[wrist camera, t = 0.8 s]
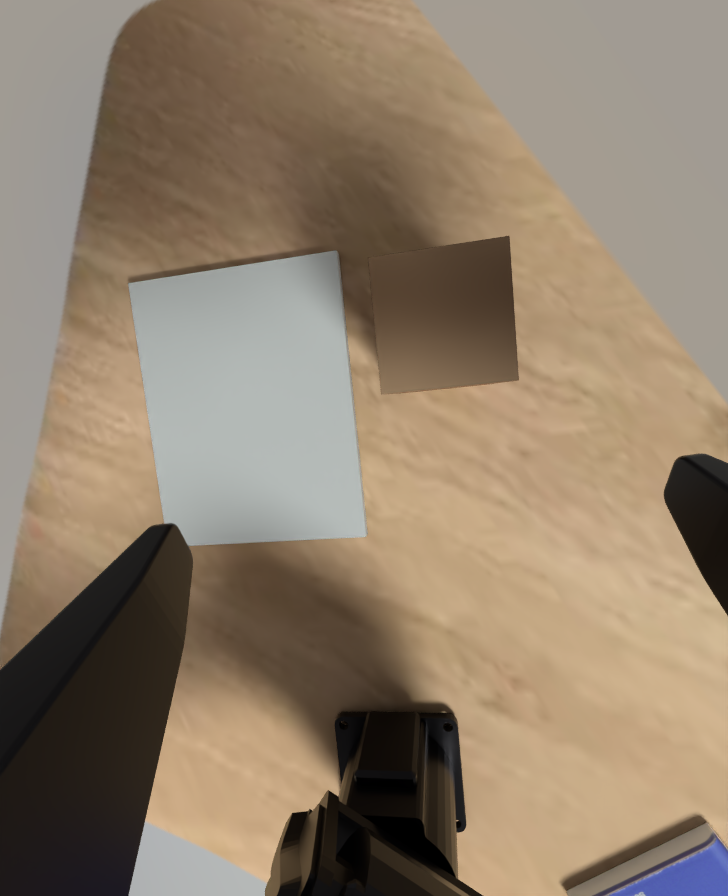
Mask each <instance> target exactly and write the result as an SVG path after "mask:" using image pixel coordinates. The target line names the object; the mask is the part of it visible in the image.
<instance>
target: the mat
mask: <svg viewBox="0 0 728 896" xmlns="http://www.w3.org/2000/svg"><path fill="white" fill-rule="evenodd" d="M128 286H129V292H130V299H131V306H132V312H133V319H134V325H135V332H136V339H137V345H138V352H139V359H140V365H141V372H142V379H143V385H144V392H145V399H146V405H147V412H148V418H149V425H150V432H151V438H152V445H153V452H154V458H155V465H156V472H157V478H158V485H159V491H160V498H161V505H162V511H163V518H164V524H166V523H174V524H176V525H177V526H178V528H179V529H180V531H181V533H182V535H183V537H184V539H185V541H186V543H187V545H188V546H196V545H216V544H236V543H255V542H275V541H295V540H315V539H334V538H354V537H366V536H367V534H368V532H367V523H366V513H365V503H364V494H363V484H362V474H361V465H360V455H359V445H358V436H357V426H356V416H355V406H354V397H353V387H352V377H351V368H350V358H349V348H348V339H347V329H346V319H345V310H344V300H343V290H342V281H341V271H340V261H339V253H338V252H337V250H335V251H329V252H323V253H316V254H310V255H304V256H297V257H291V258H285V259H278V260H272V261H266V262H259V263H253V264H247V265H240V266H234V267H228V268H222V269H215V270H209V271H203V272H196V273H190V274H184V275H177V276H171V277H165V278H158V279H152V280H146V281H140V282H133V283H128Z"/></svg>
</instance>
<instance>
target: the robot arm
mask: <svg viewBox="0 0 728 896" xmlns="http://www.w3.org/2000/svg"><path fill="white" fill-rule="evenodd" d="M664 499H665V503H666V505H667V507H668V509H669V511H670V513H671V515H672V517H673V519H674V521H675V523H676V525H677V527H678V529H679V531H680V533H681V535H682V537H683V539H684V541H685V543H686V545H687V547H688V549H689V551H690V553H691V555H692V557H693V559H694V561H695V563H696V565H697V567H698V568H699V570H700V572H701V574H702V576H703V577H704V579H705V581H706V582H707V584H708V586H709V587H710V589H711V591H712V592H713V594H714V595H715V597H716V598H717V600H718V601H719V603H720V605H721V606H722V608H723V609H724V611H725V612H726V614H727V615H728V463H726V462H724V461H721V460H719V459H717V458H714V457H712V456H710V455H707V454H693V455H685V456H681V457H678V458H677V459H676V460H675V462H674V464H673V467H672V470H671V472H670V475H669V478H668V481H667V484H666V486H665V489H664ZM192 568H193V557H192V553H191V550H190V549H189V547H188V545H187V543H186V541H185V539H184V537H183V535H182V533H181V531H180V529H179V528H178V526H177V525H176V524H174V523H166V524H158V525H153V526H151V527H149V528H148V529H147V530H146V531H145V532H144V533H143V534H142V535H141V536H140V537H138V538H137V539H136V540H135V541H134V542H133V543H132V544H131V545H130V546H129V547H128V548H127V549H126V550H125V551H124V552H123V553H122V554H121V555H120V556H119V557H118V558H117V559H116V560H114V561H113V562H112V563H111V564H110V565H109V566H108V567H107V568H106V569H105V570H104V571H103V572H102V573H101V574H100V575H99V576H98V577H97V578H96V579H95V580H94V581H93V582H92V583H90V584H89V585H88V586H87V587H86V588H85V589H84V590H83V591H82V592H81V593H80V594H79V595H78V596H77V597H76V598H75V599H74V600H73V601H72V602H71V603H70V604H69V605H67V606H66V607H65V608H64V609H63V610H62V611H61V612H60V613H59V614H58V615H57V616H56V617H55V618H54V619H53V620H52V621H51V622H50V623H49V624H48V625H47V626H46V627H45V628H43V629H42V630H41V631H40V632H39V633H38V634H37V635H36V636H35V637H34V638H33V639H32V640H31V641H30V642H29V643H28V644H27V645H26V646H25V647H24V648H23V649H22V650H20V651H19V652H18V653H17V654H16V655H15V656H14V657H13V658H12V659H11V660H10V661H9V662H8V663H7V664H6V665H5V666H4V667H3V668H2V669H1V670H0V896H128V894H129V890H130V885H131V881H132V876H133V872H134V867H135V862H136V858H137V854H138V849H139V845H140V840H141V836H142V832H143V827H144V823H145V818H146V814H147V809H148V805H149V800H150V796H151V791H152V787H153V782H154V778H155V773H156V769H157V764H158V760H159V755H160V751H161V746H162V742H163V737H164V733H165V728H166V724H167V719H168V715H169V710H170V706H171V701H172V697H173V692H174V688H175V683H176V679H177V674H178V670H179V665H180V661H181V656H182V651H183V646H184V640H185V633H186V624H187V615H188V606H189V596H190V587H191V578H192ZM341 721H346V722H347V723H348V724H346V725H345V724H343V723H342V722H341ZM445 723H450V724H451V726H445V725H444V724H445ZM335 732H336V741H337V749H338V758H339V767H340V775H341V788H340V792H339V796H336V795H335V794H333V793H332V792H330V791H329V790H328V791H327V792H326V794H325V795H324V797H323V798H322V800H321V801H320V803H319V804H318V805H317V806H316V808H315V809H314V810H313V811H312V810H310V809H309V811H306V812H297V813H292V814H291V816H290V818H289V819H288V821H287V822H286V824H285V827H284V830H283V833H282V836H281V838H280V841H279V844H278V847H277V850H276V853H275V856H274V859H273V863H272V868H271V877H270V879H269V881H268V883H267V886H266V889H265V896H482V895H481V894H479V893H478V892H476V891H475V890H473V889H472V888H470V887H469V886H467V885H466V884H464V883H463V882H461V881H460V880H458V861H457V835H456V832H462V831H464V829H465V828H466V815H465V803H464V791H463V780H462V768H461V757H460V745H459V733H458V722H457V719H456V717H455V716H454V715H452V714H449V713H415V712H377V711H371V712H341V713H339V714H338V715H337V717H336V720H335ZM456 820H459V821H457V822H456Z"/></svg>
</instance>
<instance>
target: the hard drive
mask: <svg viewBox="0 0 728 896" xmlns="http://www.w3.org/2000/svg"><path fill="white" fill-rule="evenodd" d="M567 894H568V896H728V848H727V847H726V845H725V844H724V843H723V842H722V840H721V839H720V838H719V837H718V835H717V834H716V833H715V831H714V830H713V829H712V828H711V826H710V825H709V824H708V823H705V824H703V825H701V826H699V827H696V828H694V829H692V830H690V831H688V832H686V833H684V834H682V835H680V836H678V837H676V838H674V839H672V840H670V841H668V842H666V843H664V844H662V845H660V846H657V847H655V848H653V849H651V850H649V851H647V852H645V853H643V854H641V855H639V856H637V857H635V858H633V859H631V860H629V861H627V862H625V863H623V864H621V865H618V866H616V867H614V868H612V869H610V870H608V871H606V872H604V873H602V874H600V875H598V876H596V877H594V878H592V879H590V880H588V881H586V882H584V883H581V884H579V885H577V886H575V887H573V888H571V889H569V890H567Z"/></svg>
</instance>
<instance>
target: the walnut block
mask: <svg viewBox="0 0 728 896" xmlns="http://www.w3.org/2000/svg"><path fill="white" fill-rule="evenodd" d="M368 263H369V274H370V284H371V294H372V305H373V315H374V325H375V336H376V346H377V356H378V367H379V377H380V387H381V394H395V393H408V392H418V391H428V390H437V389H447V388H457V387H467V386H476V385H486V384H494V383H502V382H509V381H517V380H519V376H518V361H517V345H516V330H515V315H514V299H513V284H512V269H511V254H510V238H509V236H505V237H499V238H492V239H486V240H479V241H473V242H466V243H460V244H453V245H447V246H440V247H434V248H427V249H421V250H414V251H408V252H401V253H395V254H388V255H382V256H375V257H369V258H368Z"/></svg>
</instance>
